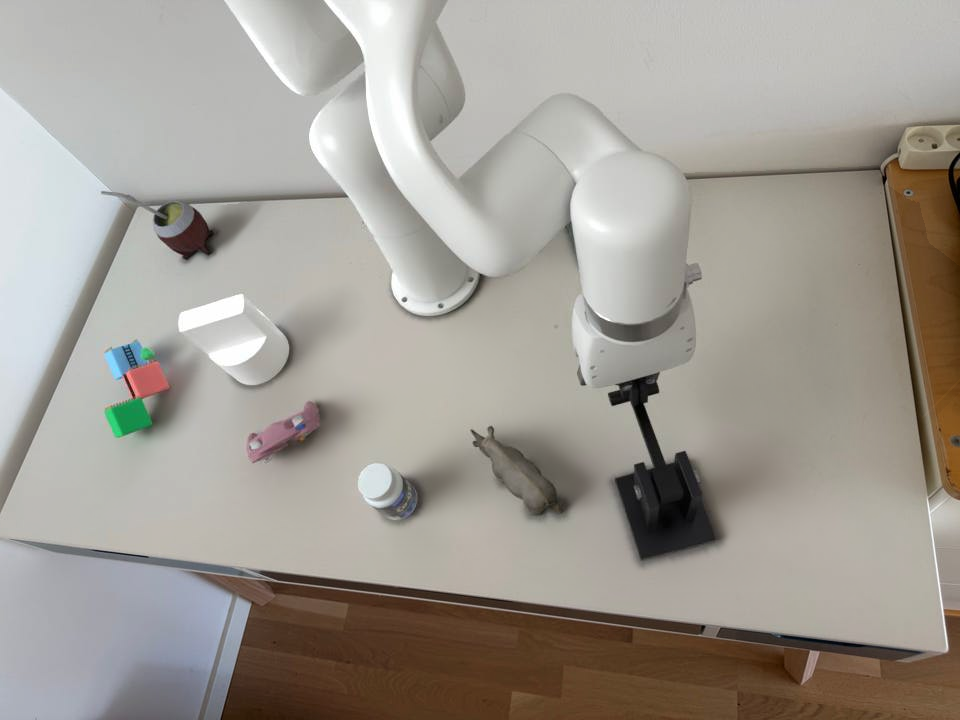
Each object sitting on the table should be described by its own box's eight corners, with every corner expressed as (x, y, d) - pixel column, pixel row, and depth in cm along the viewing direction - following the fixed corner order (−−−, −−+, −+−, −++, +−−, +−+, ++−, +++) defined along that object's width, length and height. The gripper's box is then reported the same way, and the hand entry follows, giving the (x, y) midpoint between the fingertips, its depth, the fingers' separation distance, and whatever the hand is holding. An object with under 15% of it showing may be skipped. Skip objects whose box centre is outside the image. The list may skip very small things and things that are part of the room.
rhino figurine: (490, 425, 80) (479, 406, 74) (570, 504, 73) (565, 489, 68) (465, 448, 79) (453, 430, 74) (544, 530, 72) (537, 517, 67)
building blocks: (164, 419, 96) (131, 343, 95) (181, 413, 90) (147, 332, 89) (108, 441, 91) (73, 361, 90) (123, 436, 85) (85, 350, 84)
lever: (608, 398, 68) (607, 388, 66) (654, 385, 68) (655, 375, 66) (645, 508, 63) (645, 502, 60) (697, 495, 62) (698, 488, 60)
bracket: (614, 481, 73) (610, 446, 63) (684, 462, 72) (692, 423, 62) (640, 561, 69) (640, 537, 59) (715, 542, 68) (728, 514, 58)
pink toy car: (266, 466, 85) (247, 471, 78) (249, 435, 86) (229, 438, 79) (332, 428, 86) (319, 430, 79) (315, 398, 86) (301, 397, 79)
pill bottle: (413, 523, 76) (389, 505, 69) (376, 517, 77) (348, 498, 70) (422, 484, 78) (400, 462, 71) (386, 478, 79) (360, 456, 72)
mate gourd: (227, 239, 104) (168, 174, 91) (191, 274, 102) (125, 213, 89) (201, 220, 107) (141, 155, 94) (166, 254, 105) (99, 192, 92)
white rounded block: (230, 392, 90) (177, 353, 80) (229, 338, 94) (179, 294, 84) (291, 374, 89) (245, 332, 79) (287, 321, 94) (243, 274, 83)
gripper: (709, 229, 51) (694, 340, 67) (527, 284, 53) (554, 380, 69) (747, 305, 48) (722, 404, 64) (551, 362, 49) (574, 445, 65)
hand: (635, 391), depth 66 cm, fingers closed
